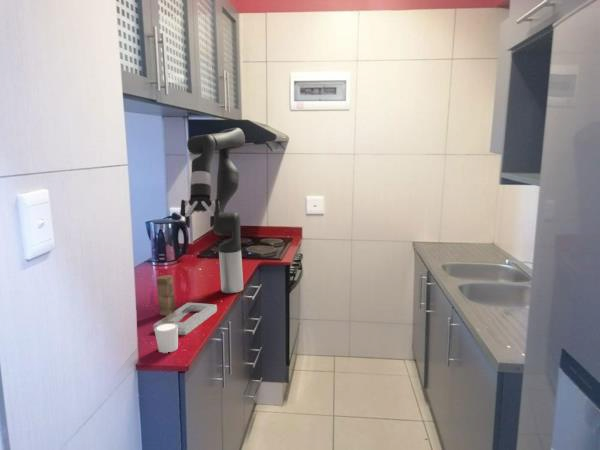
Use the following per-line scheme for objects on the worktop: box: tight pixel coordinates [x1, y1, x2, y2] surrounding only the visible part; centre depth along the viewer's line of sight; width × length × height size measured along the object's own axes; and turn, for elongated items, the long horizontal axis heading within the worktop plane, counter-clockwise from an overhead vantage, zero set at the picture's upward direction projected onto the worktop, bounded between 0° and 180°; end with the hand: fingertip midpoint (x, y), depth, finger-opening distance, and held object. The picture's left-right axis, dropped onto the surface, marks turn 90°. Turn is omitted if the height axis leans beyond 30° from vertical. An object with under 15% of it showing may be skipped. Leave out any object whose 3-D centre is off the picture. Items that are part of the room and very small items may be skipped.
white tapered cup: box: [154, 323, 179, 354], centre depth 133 cm, size 7×7×7 cm
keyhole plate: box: [152, 302, 218, 336], centre depth 155 cm, size 22×12×2 cm, turn 163°
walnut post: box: [156, 274, 176, 317], centre depth 161 cm, size 4×4×14 cm
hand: (200, 227), depth 163 cm, fingers open, 8 cm apart
